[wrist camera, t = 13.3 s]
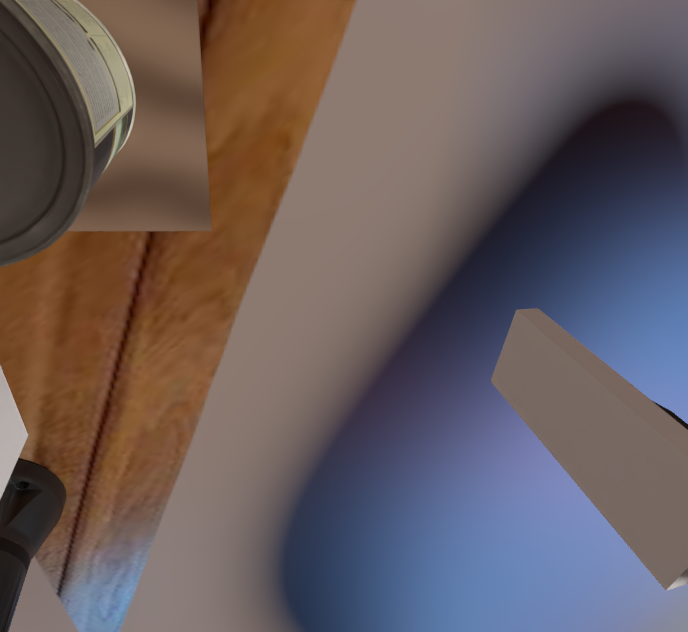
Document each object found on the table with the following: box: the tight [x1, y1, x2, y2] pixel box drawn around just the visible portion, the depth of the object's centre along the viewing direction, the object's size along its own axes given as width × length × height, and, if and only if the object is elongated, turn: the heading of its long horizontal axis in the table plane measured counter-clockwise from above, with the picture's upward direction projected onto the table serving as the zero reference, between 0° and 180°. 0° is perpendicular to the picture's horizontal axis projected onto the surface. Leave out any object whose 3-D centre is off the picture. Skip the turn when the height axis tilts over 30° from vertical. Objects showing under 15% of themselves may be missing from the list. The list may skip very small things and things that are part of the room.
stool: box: [67, 0, 211, 231], centre depth 29 cm, size 18×18×12 cm
